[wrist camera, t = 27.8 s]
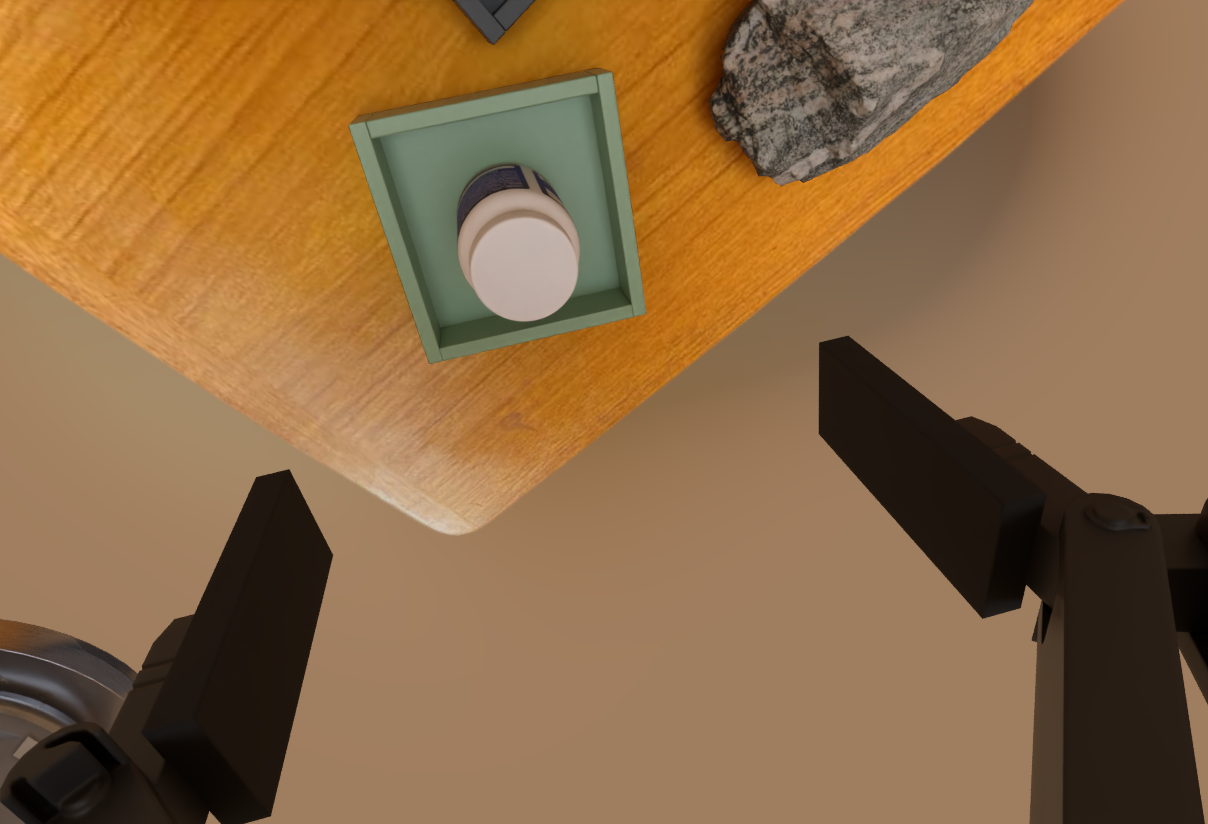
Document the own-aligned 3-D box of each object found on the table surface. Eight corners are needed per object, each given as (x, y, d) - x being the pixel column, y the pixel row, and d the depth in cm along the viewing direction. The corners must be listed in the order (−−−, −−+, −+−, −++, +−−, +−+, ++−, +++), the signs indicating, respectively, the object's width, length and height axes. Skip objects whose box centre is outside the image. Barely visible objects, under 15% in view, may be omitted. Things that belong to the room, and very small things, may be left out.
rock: (794, 243, 39) (796, 182, 29) (690, 128, 41) (661, 35, 31) (1069, 10, 36) (1175, -145, 26) (943, -104, 37) (998, -289, 28)
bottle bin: (431, 339, 40) (429, 364, 37) (357, 115, 34) (347, 124, 31) (632, 293, 41) (646, 314, 38) (599, 67, 35) (612, 71, 32)
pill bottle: (449, 254, 38) (446, 320, 29) (466, 148, 35) (468, 187, 27) (548, 274, 39) (573, 343, 31) (572, 175, 37) (605, 220, 28)
